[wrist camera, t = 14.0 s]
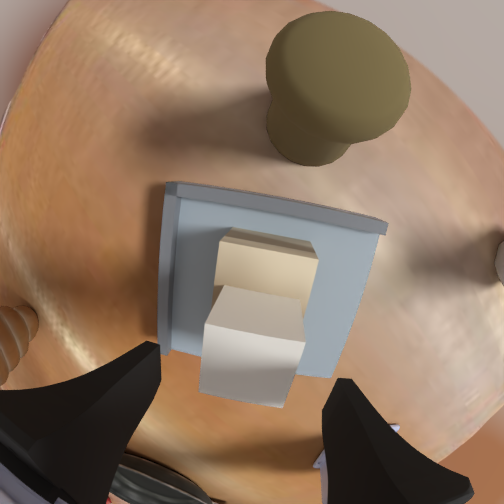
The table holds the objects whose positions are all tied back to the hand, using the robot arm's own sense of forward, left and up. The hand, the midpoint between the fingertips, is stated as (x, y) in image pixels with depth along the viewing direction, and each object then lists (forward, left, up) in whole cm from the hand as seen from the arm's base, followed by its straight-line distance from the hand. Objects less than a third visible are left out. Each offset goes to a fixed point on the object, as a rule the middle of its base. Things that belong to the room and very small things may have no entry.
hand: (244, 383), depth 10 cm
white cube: (0, 0, -5) cm, 5 cm away
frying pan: (-43, +5, -11) cm, 44 cm away
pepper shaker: (+12, -1, -11) cm, 16 cm away
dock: (0, 0, -10) cm, 10 cm away
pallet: (0, 0, -9) cm, 9 cm away
